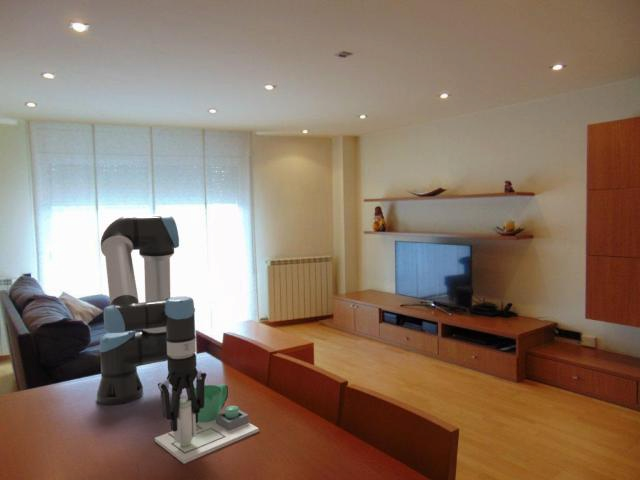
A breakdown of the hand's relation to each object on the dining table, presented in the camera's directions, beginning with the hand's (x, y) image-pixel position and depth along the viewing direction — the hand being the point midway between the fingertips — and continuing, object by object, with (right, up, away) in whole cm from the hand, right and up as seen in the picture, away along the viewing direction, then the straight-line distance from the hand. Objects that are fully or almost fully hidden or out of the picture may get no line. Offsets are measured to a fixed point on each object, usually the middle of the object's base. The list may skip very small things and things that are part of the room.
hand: (185, 438), depth 127 cm
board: (+4, -3, +7) cm, 9 cm away
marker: (0, -2, 0) cm, 2 cm away
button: (+10, +1, +13) cm, 17 cm away
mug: (+3, -2, +19) cm, 20 cm away
